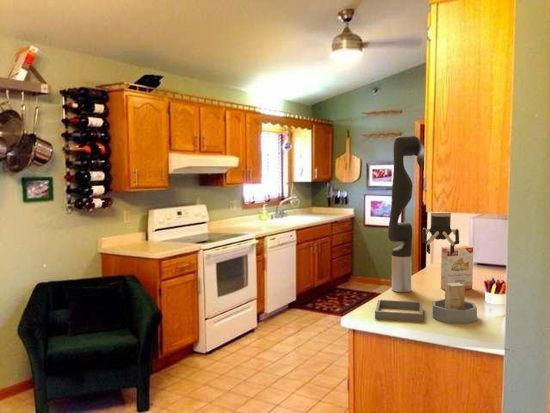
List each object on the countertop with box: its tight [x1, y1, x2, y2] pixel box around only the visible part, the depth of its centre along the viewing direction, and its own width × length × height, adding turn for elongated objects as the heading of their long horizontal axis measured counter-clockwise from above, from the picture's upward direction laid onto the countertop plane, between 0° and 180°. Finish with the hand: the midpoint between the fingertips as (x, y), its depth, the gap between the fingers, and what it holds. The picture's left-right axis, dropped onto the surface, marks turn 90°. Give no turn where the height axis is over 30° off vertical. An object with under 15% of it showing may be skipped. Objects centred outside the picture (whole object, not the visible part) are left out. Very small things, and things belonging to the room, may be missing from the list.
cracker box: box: [440, 245, 474, 291], centre depth 231 cm, size 14×6×21 cm, turn 101°
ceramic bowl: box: [431, 298, 478, 325], centre depth 187 cm, size 16×16×5 cm
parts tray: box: [374, 299, 424, 323], centre depth 193 cm, size 18×18×3 cm
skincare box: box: [444, 283, 466, 310], centre depth 187 cm, size 6×4×12 cm
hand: (440, 253), depth 193 cm, fingers open, 8 cm apart
